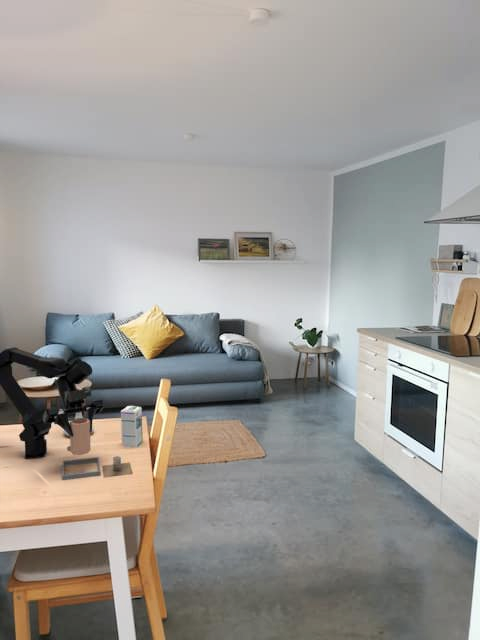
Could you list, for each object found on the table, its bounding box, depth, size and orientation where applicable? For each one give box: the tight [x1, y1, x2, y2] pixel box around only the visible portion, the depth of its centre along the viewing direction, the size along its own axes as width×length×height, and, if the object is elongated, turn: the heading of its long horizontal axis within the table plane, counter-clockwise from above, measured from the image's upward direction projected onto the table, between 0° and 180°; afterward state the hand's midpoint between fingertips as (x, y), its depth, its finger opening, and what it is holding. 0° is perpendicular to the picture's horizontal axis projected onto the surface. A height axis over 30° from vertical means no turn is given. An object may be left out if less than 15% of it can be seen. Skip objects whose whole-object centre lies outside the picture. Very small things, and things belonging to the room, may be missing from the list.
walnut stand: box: [101, 455, 134, 478], centre depth 163 cm, size 9×9×5 cm
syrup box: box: [120, 405, 144, 448], centre depth 184 cm, size 6×6×14 cm
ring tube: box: [66, 417, 92, 456], centre depth 161 cm, size 7×6×10 cm
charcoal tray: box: [61, 456, 102, 481], centre depth 162 cm, size 11×11×2 cm
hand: (81, 434), depth 160 cm, fingers closed on ring tube, 6 cm apart
